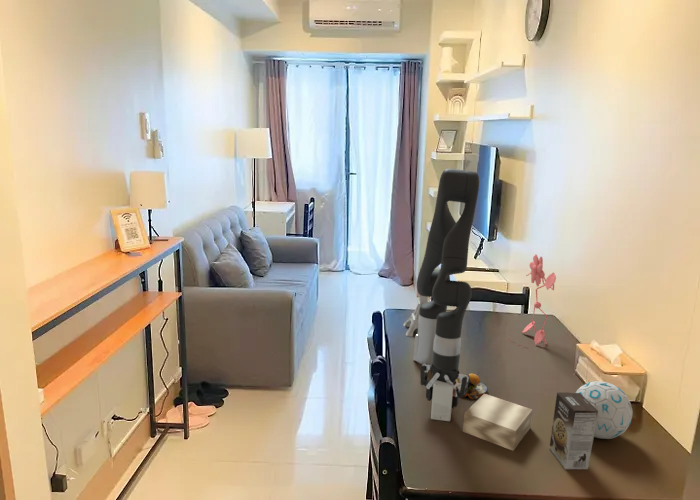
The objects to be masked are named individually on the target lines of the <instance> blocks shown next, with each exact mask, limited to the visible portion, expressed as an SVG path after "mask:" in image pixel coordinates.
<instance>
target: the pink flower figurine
mask: <svg viewBox="0 0 700 500" xmlns="http://www.w3.org/2000/svg"><path fill="white" fill-rule="evenodd" d="M543 263H544V261H543V256H538V255H537V254H534V255H533V257H532V261H531V262H530V263H529V268H530V272H529V273H528V274H526V277H527V276H529V275H530V280H531V281H530V282H531V283H532V284H534V283H535V285H536V289H535V297H536V300H535V302H534V304H533V306H534V307H533V311H532V312H533V314H532V321H531V322H530V323H529V324H528V325H526V326H525V327H524V328H523V330H522V332H521V333H522V334H524V333H526V332H529V331H530V330H532V331H534V332H535V335H534V344H535V346H537V345H538V344H540V343H541V342H542V341H543V342H544V345H546V346H547V345H548V343H547V340H546V338H545V336H546V335H545V333H546V332H545V330H544V328H545V323H546V321H547V318H548V315H547V314H546V313H545V312H544V311H543V309H541V307H542V303H541V302H540V301H538V290H540V289H541V288H543V287H545V288H546V290H547V291H548V290H549V289H551V290H552V291H555V283H556V279H557V277H556V275H555V272H552V273H551V274H549V275H548V276H547V277H545V275H546V273H545V271H544V270H543V269H544V268H543ZM541 283H542V285H541V286H540V284H541ZM536 309H539V310H540V312H541V313H543V315H545V319H544V322H543V324H542V328H541V329H539V330H538V331H537V328H536V325H535V324H536V321H534V319H535V318H534V317H535V311H536ZM533 328H534V329H533ZM507 339H508V341H510V342H512V343H514V345H518V346H520V347H523V348H524V346H523V345H520V344H518V343H516V342H514V341H512V340H511V339H510V338H509V337H507ZM526 348H527V349H528V347H526V346H525V349H526Z"/></svg>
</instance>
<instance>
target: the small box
mask: <svg viewBox="0 0 700 500" xmlns="http://www.w3.org/2000/svg"><path fill="white" fill-rule="evenodd" d="M452 384H453V383H452ZM432 387H433V395H432V400H431V409H430V410H431V411H430V420H436V421H443V422H444V421H445V422H451V419H452V417H451V415H452V409H453V408H452V396H453V386H452V385H449V384H447V383H445V382H442V381H437V380H436V381H434V384H433V386H432Z"/></svg>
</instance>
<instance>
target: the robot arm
mask: <svg viewBox="0 0 700 500" xmlns="http://www.w3.org/2000/svg"><path fill="white" fill-rule="evenodd" d="M479 190H480V177H479V174H478V172H476V171H473V170H463V169H456V168H446V169H445V168H444V170H443V171H442V173H441V175H440V178H439V182H438V187H437V196H436V201H435V207H434V212H433V216H432V217H433V218H432V221H431V224H430V227H429V232H428V236H427V242H426V247H425V251H424V257H423V259H422V260H423V261H422V263H421V266H420V269H419V272H418V275H417V278H416V279H417V281H416V291H417V293H418V295H419V296H420V295H421V296H426V297H429V298H432V300H431V301H428V303H425V304H423V305H421V306H420V309H419V322H418V327H417V333H416V334H415V336H414V349H413V359H412V360H413V361H415V362H416V363H418V364H419V365H421V366H420V385H421V386H424V387H425V388H426V392H425V398H426V399H427V401H429V402H432V395H433V384H434V381H436V380H437V381H442V382H445V383H447V384H449V385H452V386H453V396H452V408H451V409H455V408H457V407H458V405H459V401H460V396H461V398H462V397H463V396H464V395H465V394H466V392H467V387H468V382H469V374H468V373H467V374H464V373H463V374H462V373H460V369H459V368H460V358H461V356H460V355H461V350H462V327H463V320H464V317H465V313H466V311H467V309H468V306H469V304H470V302H471V299H472V295H473V291H472V287H471V285H470V284H469V283H468V282H466V281H462V280H461V281H460V280H451V276H452V275H457V274H458V275H459V274H462V273H463V274H464V273H465V272H466V271H467V269H468V255H469V244H470V243H469V242H470V236H471V233H472V228H473V222H474V218H475V212H476V207H477V201H478V198H479ZM448 202H455V203H463V204H464V207H463V210H462V213H461V215H460V217H459V218H458V220H457V221H456V220H455V218H454V216H453V215H452V213H451V211H450V208H449V205H448ZM439 266H440V268H439V269H437V268H438V267H439ZM448 307H456V308H455V309H453V310H449V311H447V310H448ZM429 372H430V373H431V375H432V376H433V377H432V378H431V379H430V380H428V377H429V376H428V373H429ZM457 378H459V379H460V382H461V383H462V384H461V389H460V390H459V388H458V383H457V381H456V379H457ZM452 383H453V384H452Z"/></svg>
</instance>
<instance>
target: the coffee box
mask: <svg viewBox="0 0 700 500" xmlns="http://www.w3.org/2000/svg"><path fill="white" fill-rule="evenodd" d="M597 415H598V410H597V409H596V408H595V407H594V406H593V405H592V404H591V403H590V402H589V401H588V400H587V399H586V398H585V397H583V396H582V395H581V394H580V393H575V392H570V391H569V392H556V398H555V404H554V413H553V420H552V426H551V434H550V441H549V450H550V451H551V452H552V454H553V455H554V457H555V458H556V460H558V463H560V465H561V466H562V467H563V469H565V470H589V466H590V459H591V453H592V449H593V443H594V438H595V437H594V432H595V427H596V421H597Z"/></svg>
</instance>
